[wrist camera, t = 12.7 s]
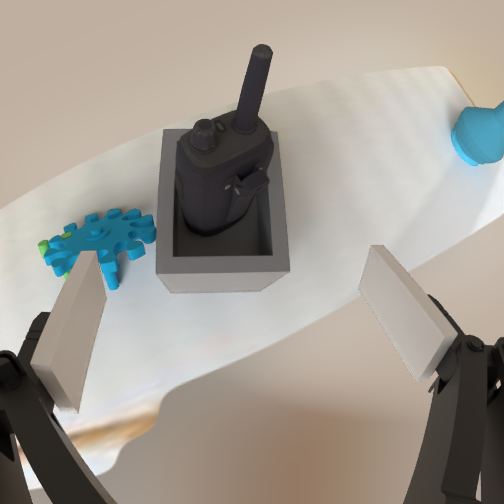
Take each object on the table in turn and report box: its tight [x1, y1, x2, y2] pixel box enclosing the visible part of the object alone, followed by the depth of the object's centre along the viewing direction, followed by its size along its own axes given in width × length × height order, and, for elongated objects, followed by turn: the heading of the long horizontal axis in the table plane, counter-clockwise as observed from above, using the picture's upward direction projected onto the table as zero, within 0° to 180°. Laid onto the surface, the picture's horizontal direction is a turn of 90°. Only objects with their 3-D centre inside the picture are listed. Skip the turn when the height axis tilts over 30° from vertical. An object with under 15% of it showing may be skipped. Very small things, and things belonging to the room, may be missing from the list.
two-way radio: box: [175, 44, 274, 237], centre depth 17 cm, size 6×4×15 cm
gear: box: [38, 209, 157, 290], centre depth 25 cm, size 11×6×10 cm
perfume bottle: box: [451, 101, 504, 166], centre depth 32 cm, size 9×9×15 cm
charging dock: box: [156, 129, 290, 293], centre depth 25 cm, size 8×10×10 cm
